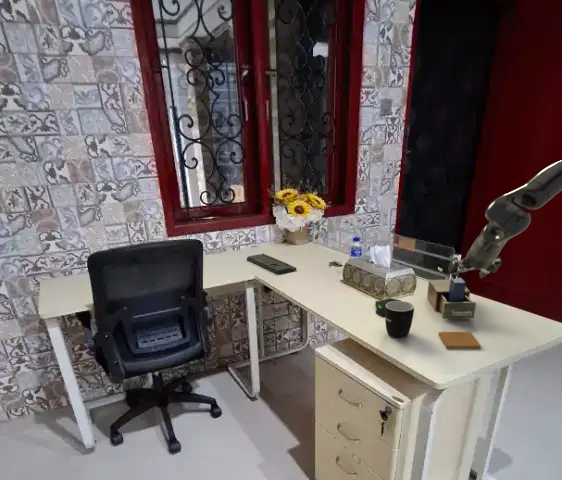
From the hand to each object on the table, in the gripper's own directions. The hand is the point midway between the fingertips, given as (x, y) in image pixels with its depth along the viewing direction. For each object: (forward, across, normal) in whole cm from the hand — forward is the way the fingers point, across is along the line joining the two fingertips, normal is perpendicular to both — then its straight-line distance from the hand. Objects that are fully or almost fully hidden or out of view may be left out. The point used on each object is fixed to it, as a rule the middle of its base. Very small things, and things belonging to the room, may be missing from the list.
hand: (467, 276), depth 136 cm
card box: (+16, 0, +5) cm, 17 cm away
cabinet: (+25, 0, -1) cm, 25 cm away
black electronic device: (+21, +22, +3) cm, 31 cm away
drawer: (+16, 0, +7) cm, 18 cm away
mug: (+6, +22, +19) cm, 30 cm away
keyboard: (+67, +76, -43) cm, 110 cm away
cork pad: (+3, +4, +22) cm, 22 cm away
